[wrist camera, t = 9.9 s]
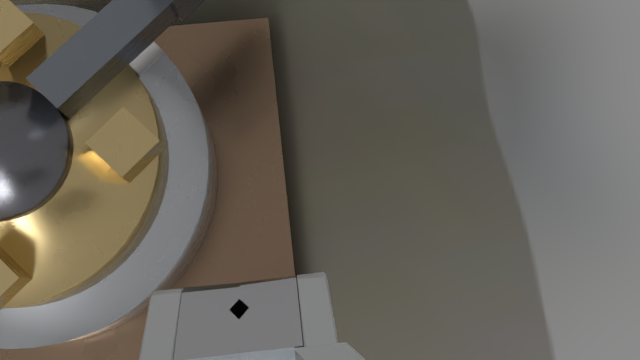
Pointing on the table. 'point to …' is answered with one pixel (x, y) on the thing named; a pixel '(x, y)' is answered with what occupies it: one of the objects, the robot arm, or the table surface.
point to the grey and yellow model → (77, 146)
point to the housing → (183, 192)
